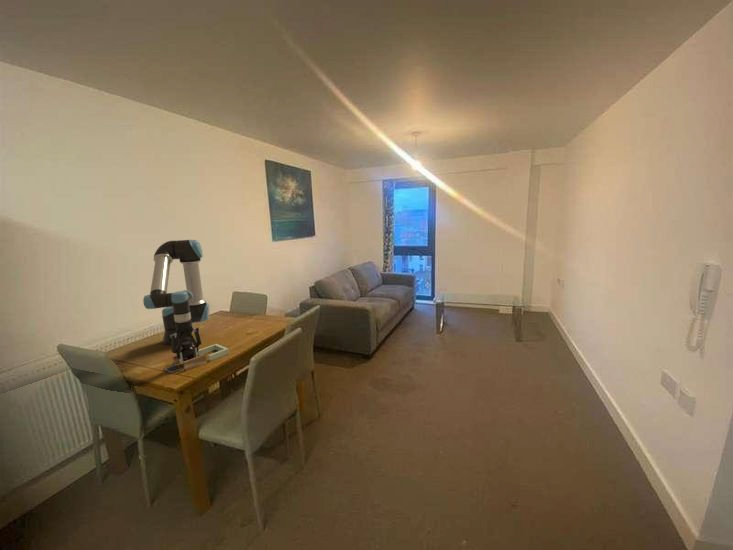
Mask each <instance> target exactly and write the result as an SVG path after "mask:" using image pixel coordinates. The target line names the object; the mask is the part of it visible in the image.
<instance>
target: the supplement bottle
mask: <svg viewBox="0 0 733 550" xmlns="http://www.w3.org/2000/svg"><path fill="white" fill-rule="evenodd" d="M194 347H195V346H194V345H193V343H192V342H191V340H187V341H185V342H182V346H181V350H180V352H182V357H183V362H184V361H187V360H190V359H192V358H195V357H196V355H195V348H194ZM181 365H182V366H183V367H184V365H183V364H181Z"/></svg>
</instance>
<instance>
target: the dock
mask: <svg viewBox="0 0 733 550" xmlns="http://www.w3.org/2000/svg"><path fill="white" fill-rule="evenodd" d="M198 350H199V352H197V355H198V356H201V355H203V354H205V355H206V354H208V353H211V352H213V351H216V352H213V353H211V354H208V355H207V357H208V361H210V362H211V361H214V360H216V359H220V358H221V357H224V356H226V355H229V354H230V350H229V348H228V347H225V346H222V345H220V344H218V343H214V344H212V345H209V346H206V347H203V348H200V349H198Z"/></svg>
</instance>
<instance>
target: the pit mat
mask: <svg viewBox="0 0 733 550" xmlns="http://www.w3.org/2000/svg"><path fill="white" fill-rule="evenodd" d="M183 370H184V367H180V366H179V365H178V364H173V365H170V366H168V367H167V366H166V367H164V368H163V371H165V372H166V373H168V374H170V375H172V374H174V373H177V372H179V371H183Z"/></svg>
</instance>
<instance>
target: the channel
mask: <svg viewBox="0 0 733 550" xmlns="http://www.w3.org/2000/svg"><path fill="white" fill-rule="evenodd" d="M172 361H173V365H175V364H177V365H178V364H180V362H179V359H178V358H177V355H176V354H174V355H172ZM206 363H208V359H207V355H206V354H203V355H200V356H199V355H198V357H195V358H192V359H190V360H187V361H184V362H183V365H184V366H183V365H182V366H183V370H184V371H189V370H191V369H194V368H197V367H200V366H202V365H204V364H206Z"/></svg>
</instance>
